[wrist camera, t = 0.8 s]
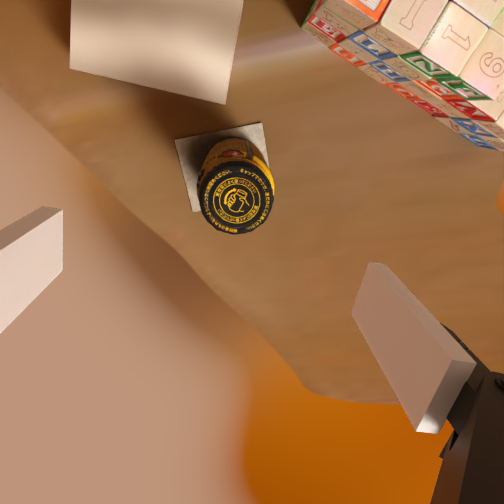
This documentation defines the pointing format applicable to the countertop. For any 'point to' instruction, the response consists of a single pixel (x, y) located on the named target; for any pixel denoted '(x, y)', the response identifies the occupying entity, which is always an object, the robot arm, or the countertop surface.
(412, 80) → the stack of blocks
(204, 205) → the condiment
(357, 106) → the countertop surface
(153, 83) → the birch block
